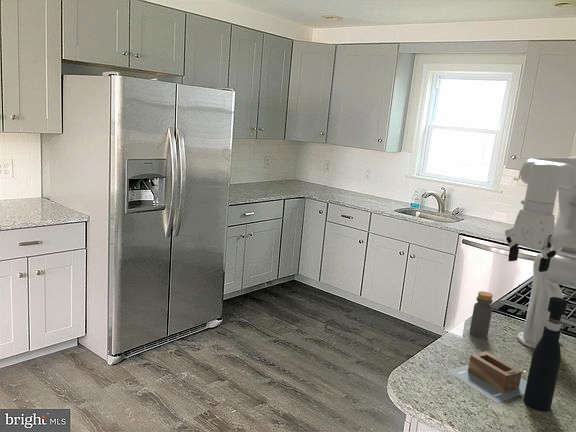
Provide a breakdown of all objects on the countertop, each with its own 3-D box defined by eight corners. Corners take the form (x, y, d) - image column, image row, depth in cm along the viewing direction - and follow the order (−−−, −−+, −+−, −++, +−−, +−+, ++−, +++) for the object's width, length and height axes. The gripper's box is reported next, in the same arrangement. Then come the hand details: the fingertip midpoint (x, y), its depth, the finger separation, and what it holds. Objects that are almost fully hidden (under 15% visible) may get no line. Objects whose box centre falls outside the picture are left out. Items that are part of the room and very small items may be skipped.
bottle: (482, 340, 167) (489, 298, 164) (466, 333, 171) (473, 292, 168) (490, 335, 171) (497, 294, 167) (474, 329, 175) (481, 289, 172)
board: (488, 363, 151) (490, 352, 150) (539, 392, 136) (541, 380, 136) (446, 374, 142) (447, 362, 141) (495, 407, 128) (498, 394, 127)
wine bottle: (553, 417, 125) (577, 306, 119) (526, 412, 126) (548, 302, 120) (545, 403, 131) (568, 297, 125) (519, 399, 132) (541, 293, 126)
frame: (483, 366, 146) (485, 350, 145) (518, 388, 136) (522, 370, 134) (467, 371, 142) (470, 354, 141) (503, 392, 132) (506, 375, 131)
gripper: (503, 201, 143) (493, 258, 147) (559, 214, 129) (547, 277, 132) (519, 201, 147) (509, 256, 151) (576, 213, 133) (563, 274, 136)
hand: (527, 265), depth 142 cm, fingers open, 9 cm apart
